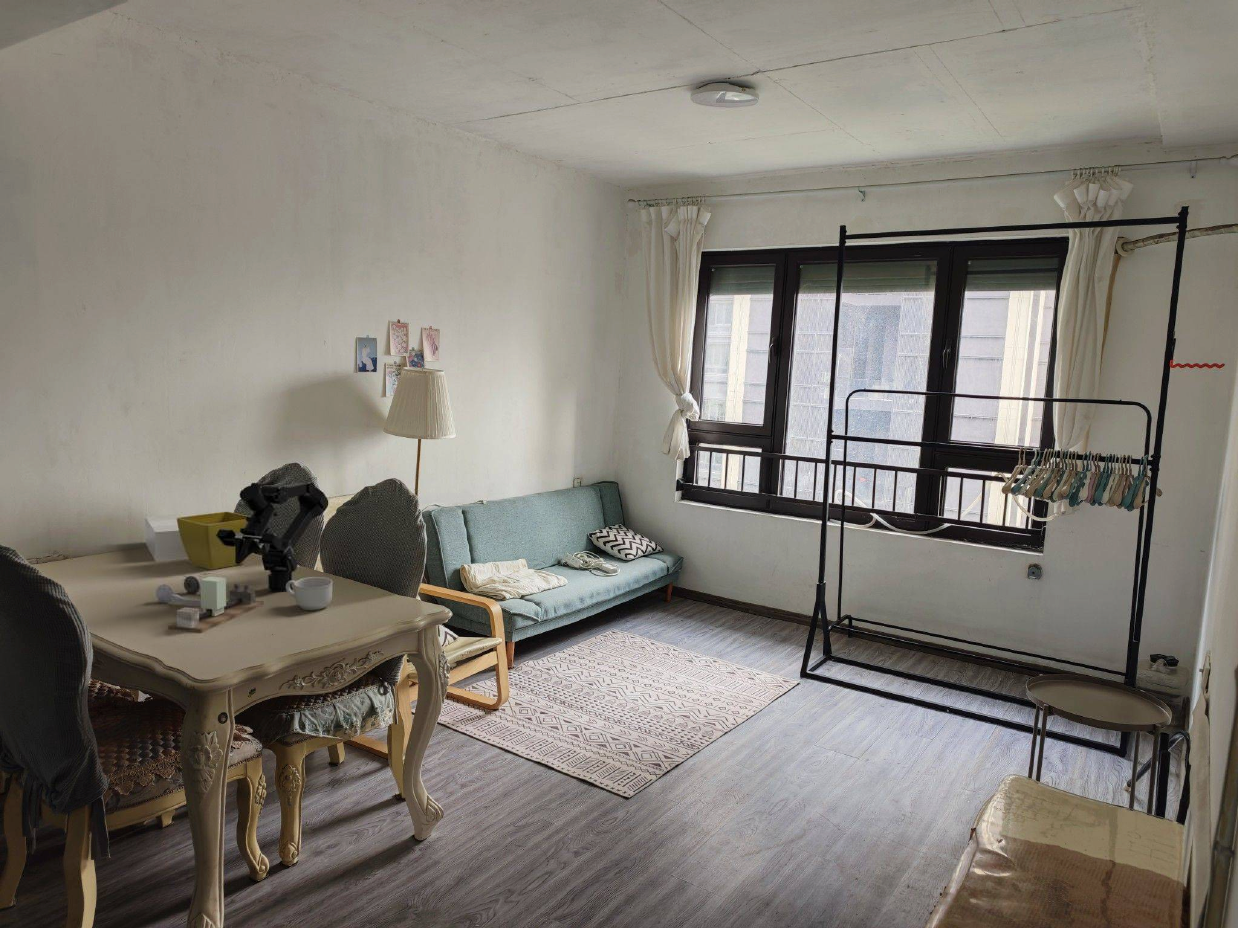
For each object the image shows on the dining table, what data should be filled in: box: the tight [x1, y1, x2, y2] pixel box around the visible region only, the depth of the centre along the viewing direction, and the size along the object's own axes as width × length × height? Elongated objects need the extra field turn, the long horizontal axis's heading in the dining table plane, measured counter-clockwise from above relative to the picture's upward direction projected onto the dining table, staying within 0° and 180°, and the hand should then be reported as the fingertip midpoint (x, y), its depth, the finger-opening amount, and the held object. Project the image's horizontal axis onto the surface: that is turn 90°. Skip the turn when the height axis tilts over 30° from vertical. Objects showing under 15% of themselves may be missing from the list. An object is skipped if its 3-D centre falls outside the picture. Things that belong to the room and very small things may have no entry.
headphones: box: [155, 575, 201, 607], centre depth 258 cm, size 17×6×20 cm
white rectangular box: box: [144, 514, 189, 562], centre depth 315 cm, size 32×11×11 cm, turn 35°
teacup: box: [286, 576, 333, 611], centre depth 254 cm, size 14×11×8 cm
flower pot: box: [177, 511, 251, 570], centre depth 298 cm, size 19×19×17 cm
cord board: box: [167, 582, 264, 634], centre depth 241 cm, size 28×10×6 cm, turn 170°
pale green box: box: [200, 576, 227, 616], centre depth 238 cm, size 4×5×10 cm
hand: (237, 563), depth 248 cm, fingers closed
